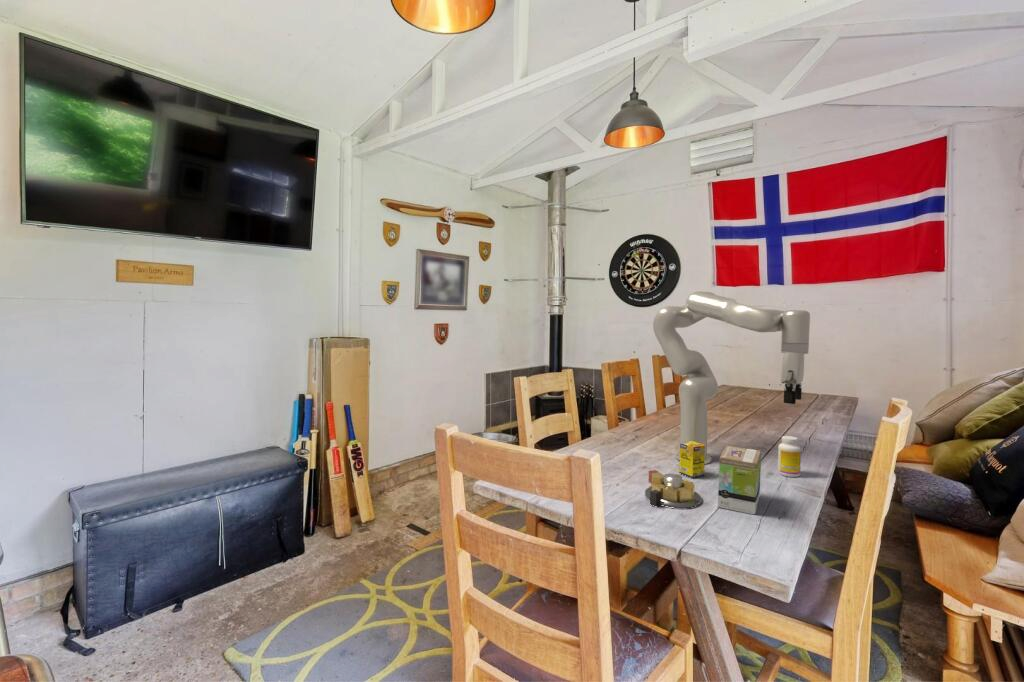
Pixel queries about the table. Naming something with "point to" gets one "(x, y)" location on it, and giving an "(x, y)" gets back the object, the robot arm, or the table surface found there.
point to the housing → (657, 500)
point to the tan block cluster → (671, 488)
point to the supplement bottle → (789, 457)
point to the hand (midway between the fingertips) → (792, 401)
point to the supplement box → (692, 459)
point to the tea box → (739, 479)
